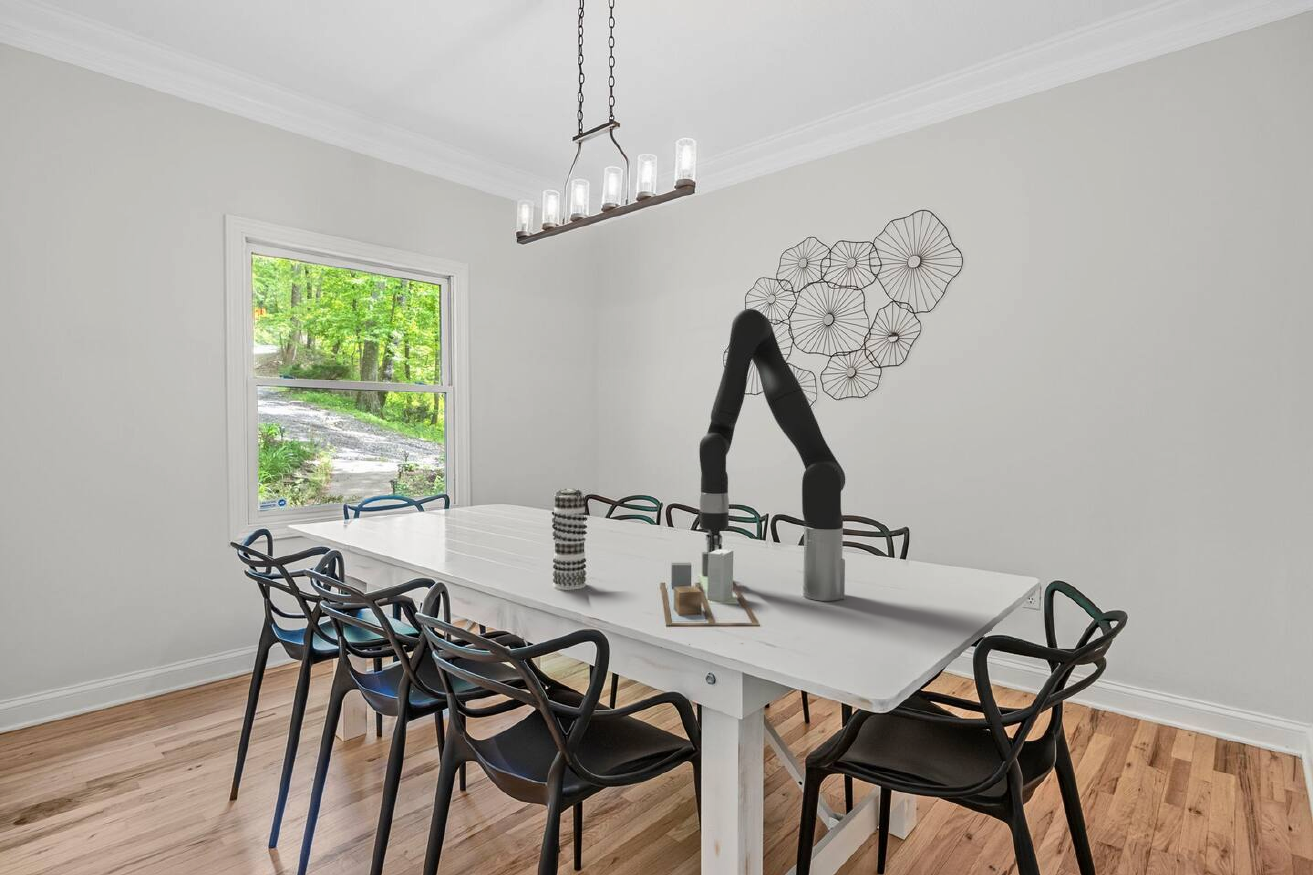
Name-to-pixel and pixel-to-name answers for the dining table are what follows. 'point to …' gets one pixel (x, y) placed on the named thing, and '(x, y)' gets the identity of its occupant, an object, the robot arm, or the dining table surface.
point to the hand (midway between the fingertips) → (713, 576)
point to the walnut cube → (687, 600)
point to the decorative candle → (569, 540)
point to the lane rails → (707, 610)
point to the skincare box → (720, 575)
